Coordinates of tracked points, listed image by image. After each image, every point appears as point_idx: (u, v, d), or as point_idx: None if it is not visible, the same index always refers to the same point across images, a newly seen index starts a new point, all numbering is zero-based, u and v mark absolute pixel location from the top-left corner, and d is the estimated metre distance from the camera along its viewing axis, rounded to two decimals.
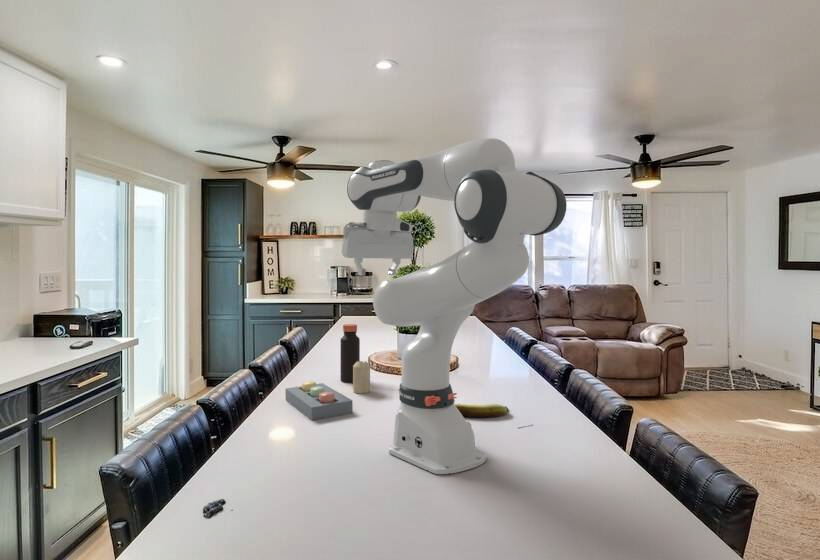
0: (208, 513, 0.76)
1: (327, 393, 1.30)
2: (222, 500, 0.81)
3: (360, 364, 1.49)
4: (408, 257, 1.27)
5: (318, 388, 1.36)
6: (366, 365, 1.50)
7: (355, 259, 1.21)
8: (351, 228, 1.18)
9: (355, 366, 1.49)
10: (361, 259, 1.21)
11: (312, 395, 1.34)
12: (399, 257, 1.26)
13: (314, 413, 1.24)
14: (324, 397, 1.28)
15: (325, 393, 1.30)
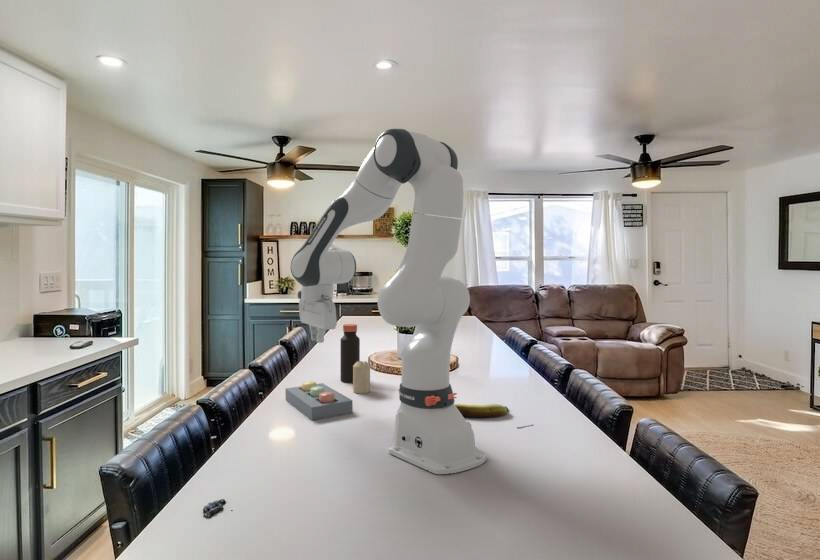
0: (208, 513, 0.76)
1: (327, 393, 1.30)
2: (222, 500, 0.81)
3: (360, 364, 1.49)
4: None
5: (318, 388, 1.36)
6: (366, 365, 1.50)
7: (321, 328, 1.32)
8: None
9: (355, 366, 1.49)
10: None
11: (312, 395, 1.34)
12: None
13: (314, 413, 1.24)
14: (324, 397, 1.28)
15: (325, 393, 1.30)
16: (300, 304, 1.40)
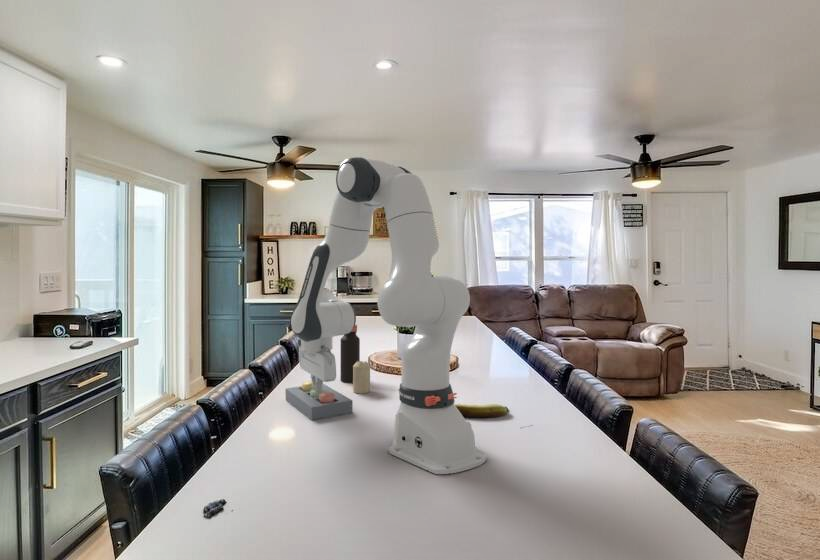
0: (208, 513, 0.76)
1: (327, 393, 1.30)
2: (223, 500, 0.81)
3: (360, 364, 1.49)
4: None
5: None
6: (366, 365, 1.50)
7: None
8: None
9: (355, 366, 1.49)
10: None
11: (312, 397, 1.34)
12: None
13: (314, 413, 1.24)
14: (324, 397, 1.28)
15: (325, 393, 1.30)
16: (300, 351, 1.41)
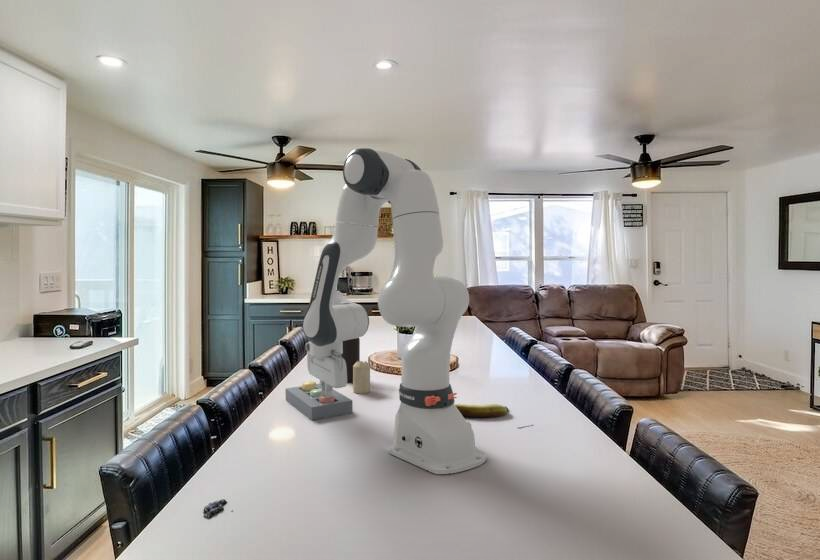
0: (208, 514, 0.76)
1: None
2: (223, 500, 0.80)
3: (360, 364, 1.49)
4: None
5: (318, 390, 1.36)
6: (366, 365, 1.50)
7: None
8: None
9: (355, 366, 1.49)
10: None
11: None
12: None
13: (314, 413, 1.24)
14: (324, 400, 1.28)
15: None
16: (308, 356, 1.35)
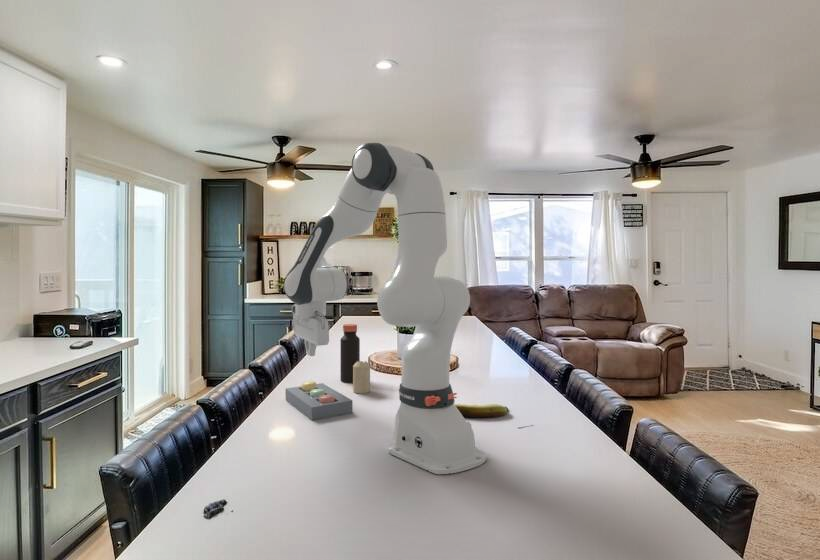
0: (208, 514, 0.76)
1: (327, 396, 1.30)
2: (223, 501, 0.80)
3: (360, 364, 1.49)
4: None
5: (318, 390, 1.36)
6: (366, 365, 1.50)
7: (312, 343, 1.37)
8: None
9: (355, 366, 1.49)
10: None
11: None
12: None
13: (314, 413, 1.24)
14: (324, 400, 1.28)
15: (325, 396, 1.30)
16: (294, 318, 1.44)
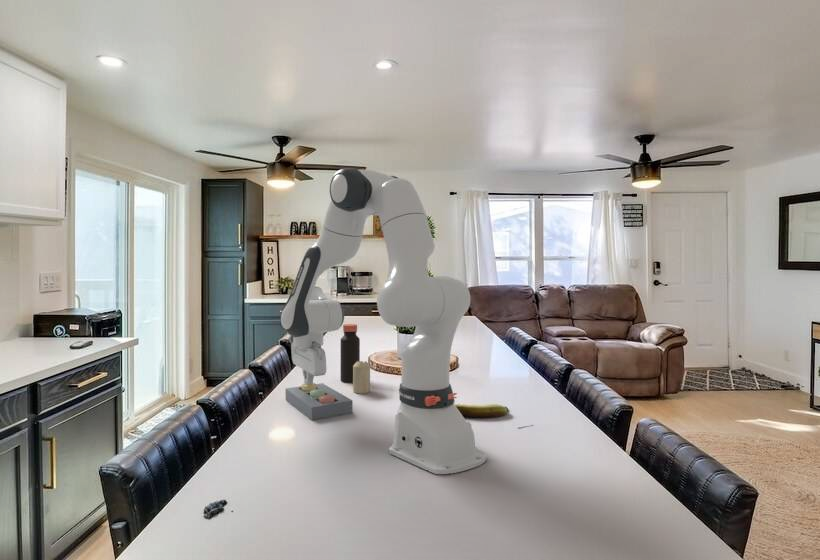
0: (208, 514, 0.76)
1: (327, 396, 1.30)
2: (223, 501, 0.80)
3: (360, 364, 1.49)
4: None
5: (318, 390, 1.36)
6: (366, 365, 1.50)
7: (310, 372, 1.39)
8: None
9: (355, 366, 1.49)
10: None
11: None
12: None
13: (314, 413, 1.24)
14: (324, 400, 1.28)
15: (325, 396, 1.30)
16: (292, 347, 1.47)
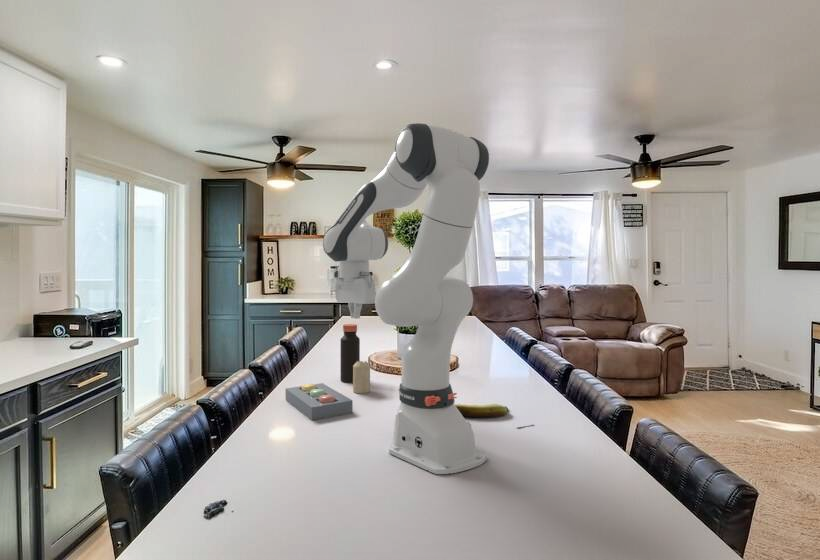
0: (208, 514, 0.76)
1: (327, 396, 1.30)
2: (224, 501, 0.80)
3: (360, 364, 1.49)
4: None
5: (318, 390, 1.36)
6: (366, 365, 1.50)
7: (357, 304, 1.37)
8: None
9: (355, 366, 1.49)
10: None
11: None
12: None
13: (314, 413, 1.24)
14: (324, 400, 1.28)
15: (325, 396, 1.30)
16: (336, 284, 1.45)
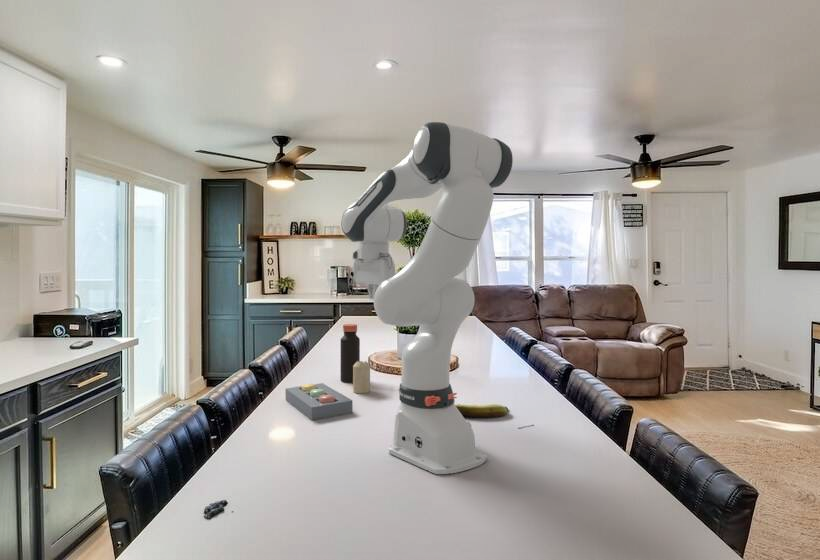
0: (208, 514, 0.76)
1: (327, 396, 1.30)
2: (224, 501, 0.80)
3: (360, 364, 1.49)
4: None
5: (318, 390, 1.36)
6: (366, 365, 1.50)
7: (376, 286, 1.37)
8: None
9: (355, 366, 1.49)
10: None
11: None
12: None
13: (314, 413, 1.24)
14: (324, 400, 1.28)
15: (325, 396, 1.30)
16: (355, 265, 1.44)
